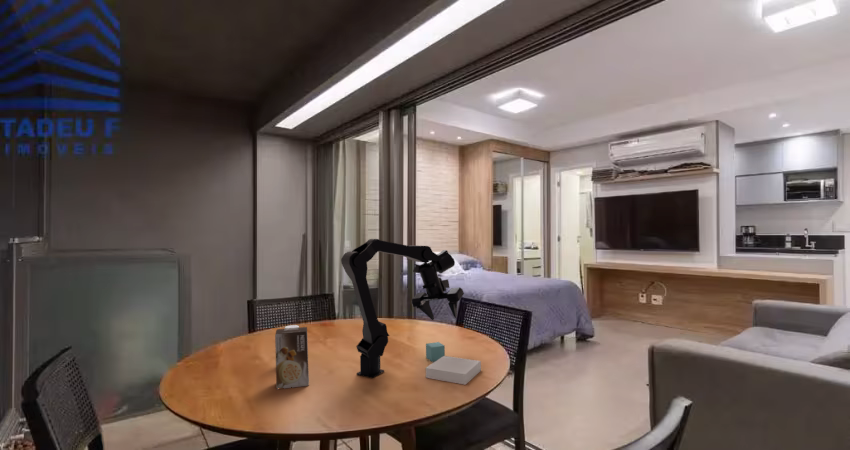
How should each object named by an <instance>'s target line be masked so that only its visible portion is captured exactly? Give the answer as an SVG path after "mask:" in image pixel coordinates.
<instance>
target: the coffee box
mask: <svg viewBox="0 0 850 450" xmlns="http://www.w3.org/2000/svg"><path fill="white" fill-rule="evenodd" d="M274 335H275V336H274V340H275V342H274V345H275V377H276V378H275V382H276V385H275V386H276V388H277V389H276V388H275V389H276V390H279V389H278V388H284V389H291V387H292V388H300V387H307V386H309V385H310V375H309V352H308V351H309V348H308V347H309V346H308V343H309V342H308V341H309V340H308V327H307V326H304V327H300V326H299V328H287V329H285V328H279V329H278V328H277V329H276V331H275V334H274Z"/></svg>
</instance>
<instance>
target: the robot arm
mask: <svg viewBox="0 0 850 450" xmlns="http://www.w3.org/2000/svg"><path fill="white" fill-rule="evenodd" d="M378 252H379V253H384V254H388V255H394V256H395V255H396V256H399V257H400V256H401V257H404V258H406V259H407V260H410V261H413V262H415V263H421V264H415V266H414V268H413V270H412V272H413V273H415V274H416V273H417V274H419V276H420V278H421V281H422V283H423V285H422V286H421V287H422V289H423V290H424V289H425V291H426V292H425V291H424V292H418V293H416V294H415V295H414V297H412V298H411V300H410V301H411V302H410V303H411V306H412V307H413V308H416V309H419V310H420V311H421V312H423V313H424V314H425V315H426V316H427V317H428V318H429V319H430V320H431V321H434V320H435V316H434V313H433V310H432V307H431V305H430V301H437V300H443V299H447V302H448V303H447V304H448V307H449V308H450V311H451V313H452V316H453V317H454V319H456V318H457V317H458V303H459V301H461V299H462V297H463V296H464V294H465V293H464V290H463V288H461V287H454V288H453V287H452V288H450V281H449V279H443V278H442V277H439V275H438V273H439V274H443V273H444V272H446V271H448V270H450V269H451V268H453V267H454V266H455V265H456V264H455V263H456V262H455V259H454V258H453V256H452V255H451V254H450V253H449V251H448V250H446V249H445V250H442V251H439V253H435V252H433V250H432V248H431V246H430V245H429V246H428V245H407V244H400V243H395V242H392V241H385V240H381V239H379V238H369V239H368V240H366V241H365V242H364V243H363V244H361V245H358V246H357V247H356V248H354V249H352V250H351V251H347V252H345V253H344V254H343V255H342V257H341V259H340V262H341V266H342V267H343V270H344V271H345V273H346V275H347V277H348V278H349V279H350V281H351V284H352V287H353V290H354V293H355V297H356V301H357V305H358V308H359V312H360V314H361V319H362V322H363V324H362V330H361V331H362V339H361V340H360V341H359V342H358V343H357V345H356V350H357V352H358V353H361V355H359V357H360V359H359V361H360V362H359V363H360V370H359V371H358V372H356V375H357V376H360V377H366V378H371V379H374V378H376V377H377V376H379V375H381V374H383V373H384V372H385V370H384V369H381V357H383V355H384V352H385V350H386V349H385V348H386V347H387V345H388V343H389V337H390V334H389V332H388V329H387V325H386V323H384V322H381V321H379V319H378V314H377V312H376V308H375V304H374V301H373V298H372V294H371V290H370V287H369V286H370V285H369V283H368V280H367V279H368V278H367V274H368V262H370V261H371V260H372V259H373V258H374V257H375V255H376V254H377V253H378ZM447 289H450V290H449V291H448V292H446V291H447Z"/></svg>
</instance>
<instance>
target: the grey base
mask: <svg viewBox="0 0 850 450" xmlns="http://www.w3.org/2000/svg"><path fill="white" fill-rule="evenodd" d="M481 367H482V361H481V360H477V359H476V360H475V359H469V358H461V357H454V356H449V355H445V356H443V357H441V358H440V359H438V360H437V361H434V362H431V364H429V365H427V367H425V378H426V379H433V380H437V381H443V382H448V383H454V384H460V385H467V384H468V383H469V382H470V381H471V380H472V379H474V378H475V377H476V376H477V375H478V374H479V373H480V372H481V371H482V368H481Z"/></svg>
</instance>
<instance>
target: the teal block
mask: <svg viewBox="0 0 850 450" xmlns="http://www.w3.org/2000/svg"><path fill="white" fill-rule="evenodd" d="M445 349H446V348H445V345H444V344H443V343H441V342H439V341H436V342H429V343H427V342H426V343H425V357H426V359H427V360H428V361H430V362H431V363H434V362H435V361H437V360H438V359H440V358H441V357H443V356H446V354H445V353H446V351H445Z"/></svg>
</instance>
